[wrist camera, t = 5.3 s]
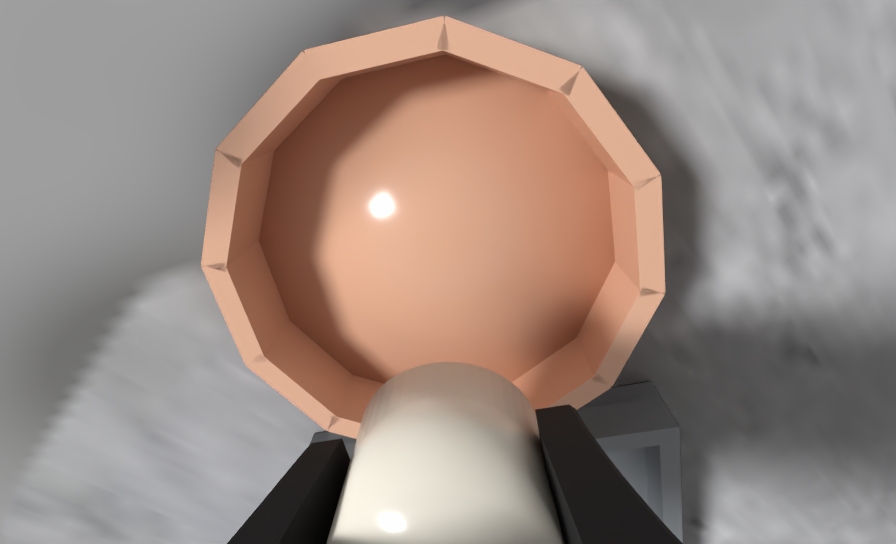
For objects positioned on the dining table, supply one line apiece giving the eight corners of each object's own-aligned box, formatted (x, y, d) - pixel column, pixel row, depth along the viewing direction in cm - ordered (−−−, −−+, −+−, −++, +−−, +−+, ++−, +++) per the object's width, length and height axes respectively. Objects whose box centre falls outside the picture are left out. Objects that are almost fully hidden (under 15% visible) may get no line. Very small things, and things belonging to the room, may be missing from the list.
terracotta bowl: (319, 416, 17) (293, 478, 14) (188, 86, 12) (117, 89, 10) (638, 366, 16) (673, 424, 13) (613, -17, 11) (658, -44, 9)
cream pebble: (387, 511, 10) (360, 669, 8) (338, 378, 9) (284, 514, 6) (549, 489, 10) (583, 647, 7) (524, 347, 9) (554, 476, 6)
